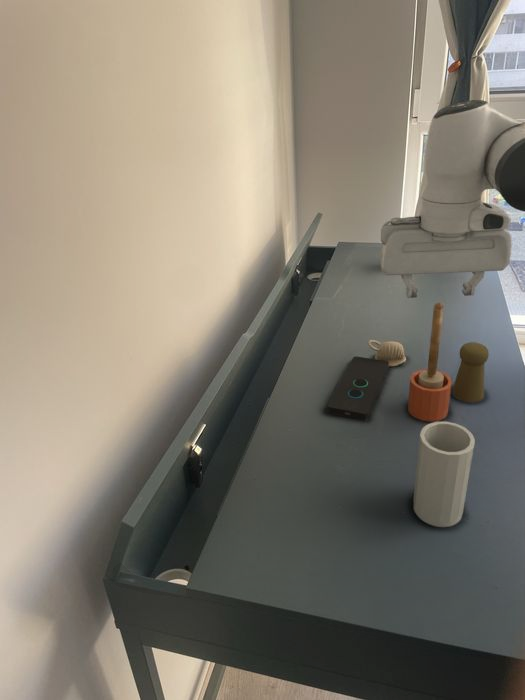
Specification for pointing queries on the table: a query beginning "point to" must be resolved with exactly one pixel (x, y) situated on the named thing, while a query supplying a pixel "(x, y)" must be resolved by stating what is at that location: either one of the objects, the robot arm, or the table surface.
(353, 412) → the smart home device
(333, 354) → the table surface
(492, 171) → the robot arm
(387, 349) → the decorative ornament
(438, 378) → the bottle brush
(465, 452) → the white cylindrical cup
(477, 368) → the olive pepper mill
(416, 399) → the brush holder
